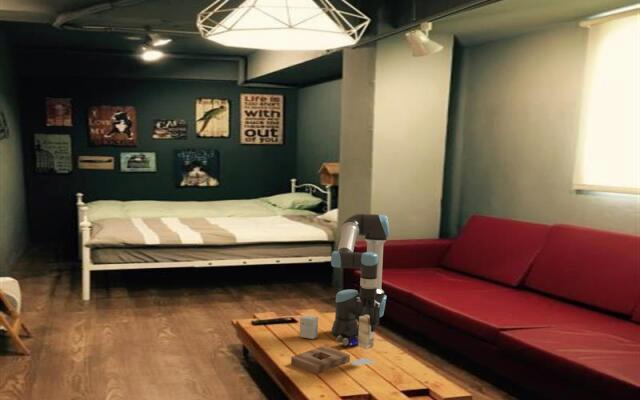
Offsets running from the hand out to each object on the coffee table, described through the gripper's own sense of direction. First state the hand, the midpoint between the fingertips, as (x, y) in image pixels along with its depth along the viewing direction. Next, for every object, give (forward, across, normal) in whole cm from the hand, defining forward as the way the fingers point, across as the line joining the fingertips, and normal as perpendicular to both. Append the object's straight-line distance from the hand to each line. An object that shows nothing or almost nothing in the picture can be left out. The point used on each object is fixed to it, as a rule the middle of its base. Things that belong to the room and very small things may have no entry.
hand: (366, 336), depth 264 cm
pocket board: (+13, -14, -15) cm, 24 cm away
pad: (+13, 0, 0) cm, 13 cm away
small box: (+13, -44, +7) cm, 47 cm away
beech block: (+5, 0, 0) cm, 5 cm away
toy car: (+11, -22, +7) cm, 25 cm away
